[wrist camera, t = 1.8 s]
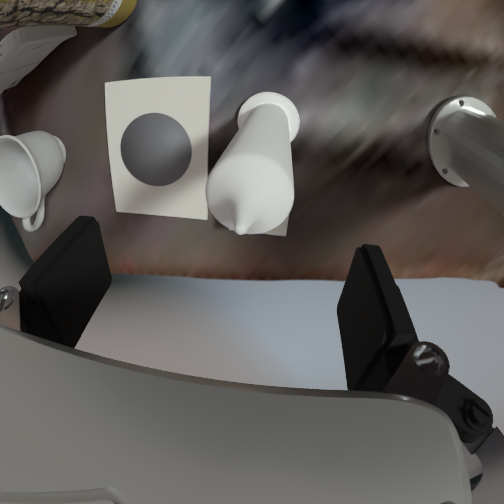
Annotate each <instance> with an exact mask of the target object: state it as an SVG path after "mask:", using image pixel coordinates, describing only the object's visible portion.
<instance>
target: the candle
mask: <svg viewBox="0 0 504 504" xmlns="http://www.w3.org/2000/svg"><path fill="white" fill-rule="evenodd" d="M299 124H300V120H299V114H298V111H297V109H296V107H295V106H294V104H293V103H292V102H291V101H290V100H289V99H288V98H286V97H285V96H283V95H281V94H278V93H274V92H262V93H258V94H256V95H253V96H252V97H250V98H249V99H248V100H246V101H245V103H244V104H243V105H242V107H241V109H240V111H239V114H238V128H239V130H238V132H237V133H236V135H235V136H234V137H233V139H232V140H231V142H230V143H229V145H228V146H227V148H226V149H225V151H224V152H223V154H222V155H221V157H220V158H219V160H218V161H217V163H216V165H215V166H214V168H213V169H212V171H211V172H210V174H209V176H208V179H207V182H206V189H205V195H206V201H207V204H208V207H209V209H210V211H211V213H212V214H213V216H214V217H215V218H216V219H217V220H218V221H219V222H220V223H221V224H222V225H224V226H225V227H227V228H229V229H231V230H233V231H235V232H236V233H237V234H240V235H242V234H259V233H264V232H267V231H269V230H272V229H274V228H275V227H277V226H278V225H280V224H281V223H282V222H283V221H284V220H285V219H286V217H287V216H288V214H289V212H290V210H291V208H292V206H293V202H294V183H293V170H292V157H291V145H290V142H291V141H292V140H293V139H294V138H295V136H296V134H297V132H298V129H299Z"/></svg>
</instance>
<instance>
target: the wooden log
mask: <svg viewBox="0 0 504 504" xmlns="http://www.w3.org/2000/svg"><path fill="white" fill-rule="evenodd" d="M136 2H137V0H0V29H4V28H15V27H28V26H87V27H104V28H108V27H114V26H116V25H119V24H120V23H122V22H123V21H125V20H126V19H127V18H128V17H129V16H130V15H131V13H132V12H133V10H134V8H135V6H136Z"/></svg>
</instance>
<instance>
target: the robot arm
mask: <svg viewBox="0 0 504 504" xmlns="http://www.w3.org/2000/svg"><path fill="white" fill-rule="evenodd" d="M434 130H435V132H434ZM427 140H428V151H429V156H430V159H431V161H432V164H433V166H434V167H435V169H436V171H437V172H438V173H439V174H440V175H441V176H442V177H443V178H444V179H445V180H447V181H448V182H449V183H451V184H453V185H456V186H460V187H469V186H470V187H472V188H473V189H474V190H475V191H476V192H477V193H478V194H479V195H481V196H482V197H483V198H484V199H485V200H486V201H487V202H488V203H489V204H490V205H491V206H492V207H493V208H494V209H495V210H497V211H498V212H499V213H500V214H501V215H502V216H503V217H504V121H503V120H500V119H498V118H496V116H495V114H494V113H493V111H492V110H491V108H490V107H489V106H488V105H487V104H485V103H484V102H483V101H481V100H479V99H477V98H474V97H471V96H466V95H463V96H456V97H452V98H450V99H448V100H447V101H445V102H444V103H443V104H442V105H441V106H440V107H439V108H438V109H437V111H436V112H435V114H434V116H433V118H432V120H431V123H430V126H429V130H428V139H427ZM111 280H112V278H111V273H110V269H109V265H108V261H107V257H106V253H105V249H104V245H103V240H102V236H101V231H100V226H99V223H98V221H96V220H95V218H94V217H91V216H79V217H78V218H77V219H76V220H75V221H74V222H73V223H72V224H71V225H70V226H69V227H68V228H67V229H66V230H65V231H64V232H63V233H62V234H61V235H60V236H59V237H58V238H57V239H56V240H55V241H54V242H53V243H52V244H51V245H50V246H49V248H48V249H47V250H46V251H45V252H44V253H43V254H42V255H41V256H40V258H39V259H38V260H37V261H36V262H35V263H34V264H33V266H32V267H31V268H30V269H29V270H28V271H27V273H26V274H25V275H24V276H23V277H22V279H21V280H20V281H19V284H20V286H21V288H22V289H21V291H20V292H19V291H18V290H17V288H15V287H13V286H7V287H3V288H1V289H0V504H504V435H503V434H502V432H501V431H500V430H499V428H498V427H495V428H493V427H492V423H493V415H492V411H491V409H490V407H489V405H488V404H487V403H486V402H485V401H484V400H483V399H481V398H480V397H479V396H477V395H476V394H474V393H473V392H472V391H471V390H469V389H468V388H467V387H465V386H464V385H463V384H461V383H460V382H459V381H457V380H456V379H454V378H453V377H452V376H450V375H449V374H448V373H449V368H450V365H449V360H448V357H447V355H446V354H445V352H444V351H443V350H442V349H441V348H440V347H439V346H437V345H435V344H433V343H431V342H427V341H422V342H419V340H418V338H417V334H416V332H415V329H414V326H413V323H412V321H411V318H410V315H409V312H408V310H407V307H406V305H405V302H404V299H403V297H402V294H401V292H400V289H399V287H398V286H397V285H396V283H395V281H394V278H393V276H392V274H391V271H390V269H389V267H388V264H387V262H386V260H385V257H384V255H383V253H382V251H381V248H380V247H379V246H376V245H368V244H363V245H362V246H361V248H359V247H358V248H357V249H356V251H355V254H354V257H353V260H352V264H351V267H350V270H349V273H348V276H347V279H346V282H345V285H344V288H343V291H342V293H341V296H340V299H339V302H338V305H337V316H338V322H339V329H340V335H341V342H342V349H343V356H344V364H345V372H346V379H347V388H348V390H321V389H304V388H288V387H276V386H265V385H254V384H245V383H237V382H229V381H222V380H214V379H208V378H202V377H195V376H189V375H183V374H178V373H172V372H167V371H162V370H157V369H152V368H148V367H143V366H138V365H134V364H130V363H126V362H122V361H117V360H114V359H110V358H106V357H102V356H98V355H95V354H91V353H88V352H84V351H80V350H77V349H74V348H75V346H76V344H77V342H78V341H79V339H80V337H81V335H82V333H83V331H84V330H85V328H86V326H87V324H88V322H89V321H90V319H91V317H92V315H93V313H94V312H95V310H96V308H97V307H98V305H99V303H100V301H101V300H102V298H103V296H104V295H105V293H106V291H107V290H108V288H109V287H110V285H111Z"/></svg>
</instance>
